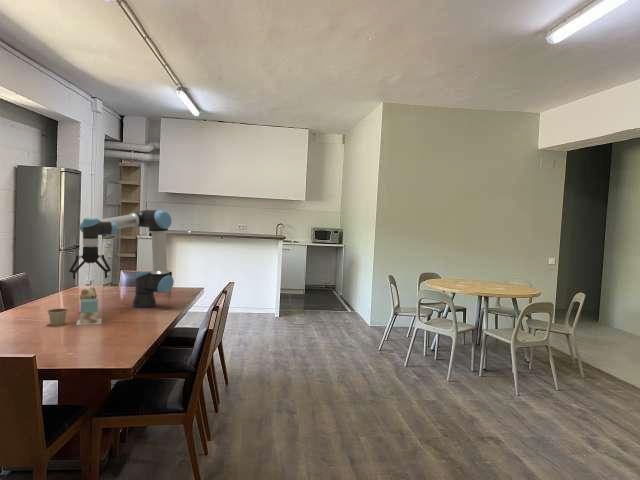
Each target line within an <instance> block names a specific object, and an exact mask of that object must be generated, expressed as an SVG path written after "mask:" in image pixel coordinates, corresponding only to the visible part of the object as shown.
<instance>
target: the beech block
mask: <svg viewBox="0 0 640 480" xmlns="http://www.w3.org/2000/svg"><path fill="white" fill-rule="evenodd" d="M98 311H99V309H98V310H97V312H90V313H81V312H80V320H81V324H86V325H88V324H87V323H97V320H98V319H99V318H98V317H99V316H98V315H99V312H98Z"/></svg>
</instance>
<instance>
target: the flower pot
mask: <svg viewBox="0 0 640 480" xmlns="http://www.w3.org/2000/svg"><path fill="white" fill-rule="evenodd" d="M68 310H69V309H68V308H52V309H48V310H47V313H48V316H49V317H48V318H49V324H50V326H53V327H57V326H59V327H60V326H64V325H66V324H65V323H66V316H67V312H68Z"/></svg>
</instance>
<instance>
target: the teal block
mask: <svg viewBox="0 0 640 480" xmlns="http://www.w3.org/2000/svg"><path fill="white" fill-rule="evenodd" d="M98 304H99V299H98V298H96V299H82V300H80V314H81V313H90V312H97V310H98V311H99V309H98V308H99V305H98Z"/></svg>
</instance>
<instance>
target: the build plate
mask: <svg viewBox="0 0 640 480" xmlns="http://www.w3.org/2000/svg"><path fill="white" fill-rule="evenodd" d="M98 324H99V325H100V324H102V318H98V320H97V323H87V324H81V319H77V322H76V326H82V325H98Z"/></svg>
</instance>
